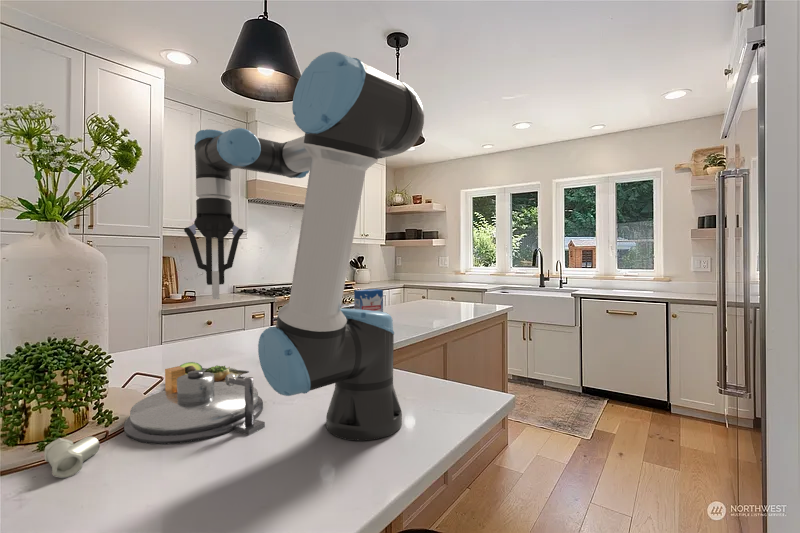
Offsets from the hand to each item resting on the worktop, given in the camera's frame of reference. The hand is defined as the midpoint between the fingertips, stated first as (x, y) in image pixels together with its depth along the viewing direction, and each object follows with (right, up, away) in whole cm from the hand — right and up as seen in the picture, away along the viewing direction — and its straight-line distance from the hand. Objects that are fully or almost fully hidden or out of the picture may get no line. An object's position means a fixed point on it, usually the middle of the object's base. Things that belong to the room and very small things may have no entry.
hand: (215, 298), depth 94 cm
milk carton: (+31, -22, +66) cm, 76 cm away
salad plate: (-9, -24, +13) cm, 29 cm away
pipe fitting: (-9, -25, -29) cm, 40 cm away
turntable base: (+1, -24, -10) cm, 26 cm away
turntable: (+1, -23, -10) cm, 25 cm away
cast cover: (+1, -21, -10) cm, 23 cm away
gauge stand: (+12, -24, -16) cm, 31 cm away
